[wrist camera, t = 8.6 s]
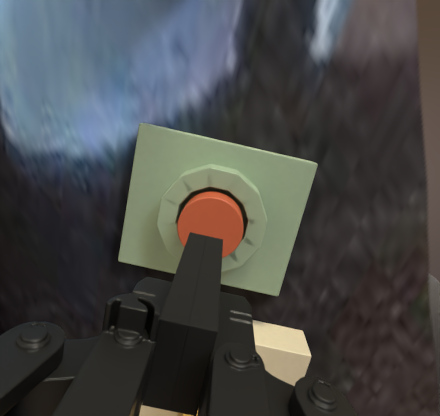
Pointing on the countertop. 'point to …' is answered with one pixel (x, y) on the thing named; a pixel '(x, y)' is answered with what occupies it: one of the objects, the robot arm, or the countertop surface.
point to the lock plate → (269, 356)
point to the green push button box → (219, 182)
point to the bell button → (212, 219)
